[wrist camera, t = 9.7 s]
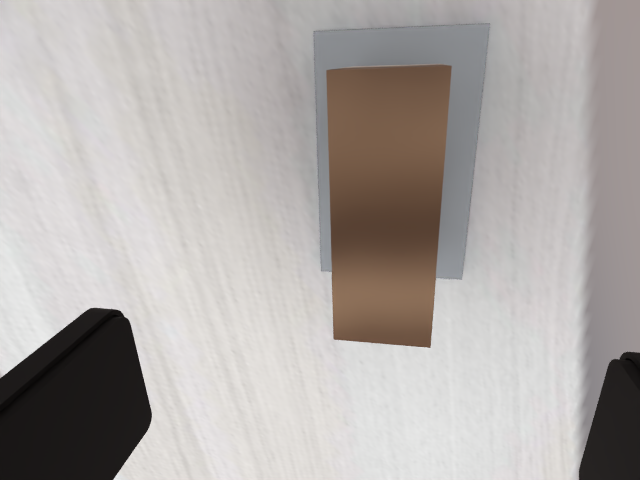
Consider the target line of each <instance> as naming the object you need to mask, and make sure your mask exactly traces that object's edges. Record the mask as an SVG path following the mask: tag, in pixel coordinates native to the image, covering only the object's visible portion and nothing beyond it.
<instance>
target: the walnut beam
mask: <svg viewBox="0 0 640 480" xmlns="http://www.w3.org/2000/svg"><path fill="white" fill-rule="evenodd" d="M451 70H452V66H450V65H444V64H437V65H408V66H380V67H351V68H339V69H331V70H326V78H327V115H328V151H329V188H330V224H331V261H332V298H333V334H334V339H335V340H346V341H358V342H370V343H382V344H393V345H405V346H417V347H428V348H430V346H431V333H432V320H433V307H434V294H435V281H436V268H437V254H438V241H439V228H440V215H441V202H442V189H443V176H444V162H445V149H446V136H447V123H448V110H449V97H450V84H451Z"/></svg>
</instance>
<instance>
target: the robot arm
mask: <svg viewBox="0 0 640 480" xmlns="http://www.w3.org/2000/svg"><path fill="white" fill-rule="evenodd" d="M151 418H152V413H151V408H150V404H149V400H148V395H147V391H146V387H145V383H144V379H143V375H142V370H141V366H140V362H139V358H138V354H137V350H136V345H135V341H134V337H133V333H132V329H131V325H130V322H129V320H128V319H127V318H125V317H124V315H123V313H122V312H121V311H119V310H115V309H103V308H90V309H89V310H87V311H85V312H84V313H83V314H82V315H80V316H79V317H78V318H77V319H75V320H74V321H73V322H71V323H70V324H69V325H68V326H66V327H65V328H64V329H63V330H61V331H60V332H59V333H57V334H56V335H55V336H54V337H52V338H51V339H50V340H49V341H47V342H46V343H45V344H43V345H42V346H41V347H40V348H38V349H37V350H36V351H35V352H33V353H32V354H31V355H29V356H28V357H27V358H26V359H24V360H23V361H22V362H21V363H19V364H18V365H17V366H15V367H14V368H13V369H12V370H10V371H9V372H8V373H7V374H5V375H4V376H3V377H1V378H0V480H113V479H114V477H115V476H116V475H117V473H118V472H119V470H120V469H121V467H122V466H123V465H124V463H125V462H126V460H127V459H128V458H129V456H130V455H131V453H132V452H133V450H134V449H135V448H136V446H137V445H138V443H139V442H140V440H141V439H142V438H143V436H144V435H145V433H146V432H147V430H148V428H149V426H150V423H151ZM579 480H640V353H635V352H626V353H623V354H622V356H621V357H620V359H619V360H618V359H614V360H612V361H611V362H610V363H609V366H608V369H607V372H606V376H605V380H604V383H603V387H602V390H601V394H600V397H599V401H598V404H597V408H596V411H595V415H594V418H593V422H592V426H591V429H590V433H589V436H588V440H587V443H586V447H585V451H584V454H583V458H582V461H581V465H580V469H579Z"/></svg>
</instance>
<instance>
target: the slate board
mask: <svg viewBox="0 0 640 480" xmlns="http://www.w3.org/2000/svg"><path fill="white" fill-rule="evenodd" d="M489 28H490V23H487V24H465V25H442V26H420V27H398V28H376V29H354V30H331V31H314V60H315V93H316V125H317V157H318V189H319V221H320V253H321V271H329V272H332V261H331V224H330V188H329V151H328V115H327V78H326V70H331V69H339V68H344V67H352V66H378V65H412V64H446V65H450V66H452V70H451V84H450V97H449V110H448V123H447V136H446V149H445V162H444V176H443V189H442V202H441V215H440V228H439V241H438V254H437V268H436V278H444V279H460V280H462V274H463V265H464V256H465V247H466V238H467V229H468V220H469V210H470V201H471V192H472V183H473V174H474V165H475V156H476V147H477V138H478V128H479V119H480V110H481V101H482V92H483V83H484V74H485V65H486V56H487V46H488V37H489Z"/></svg>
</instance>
